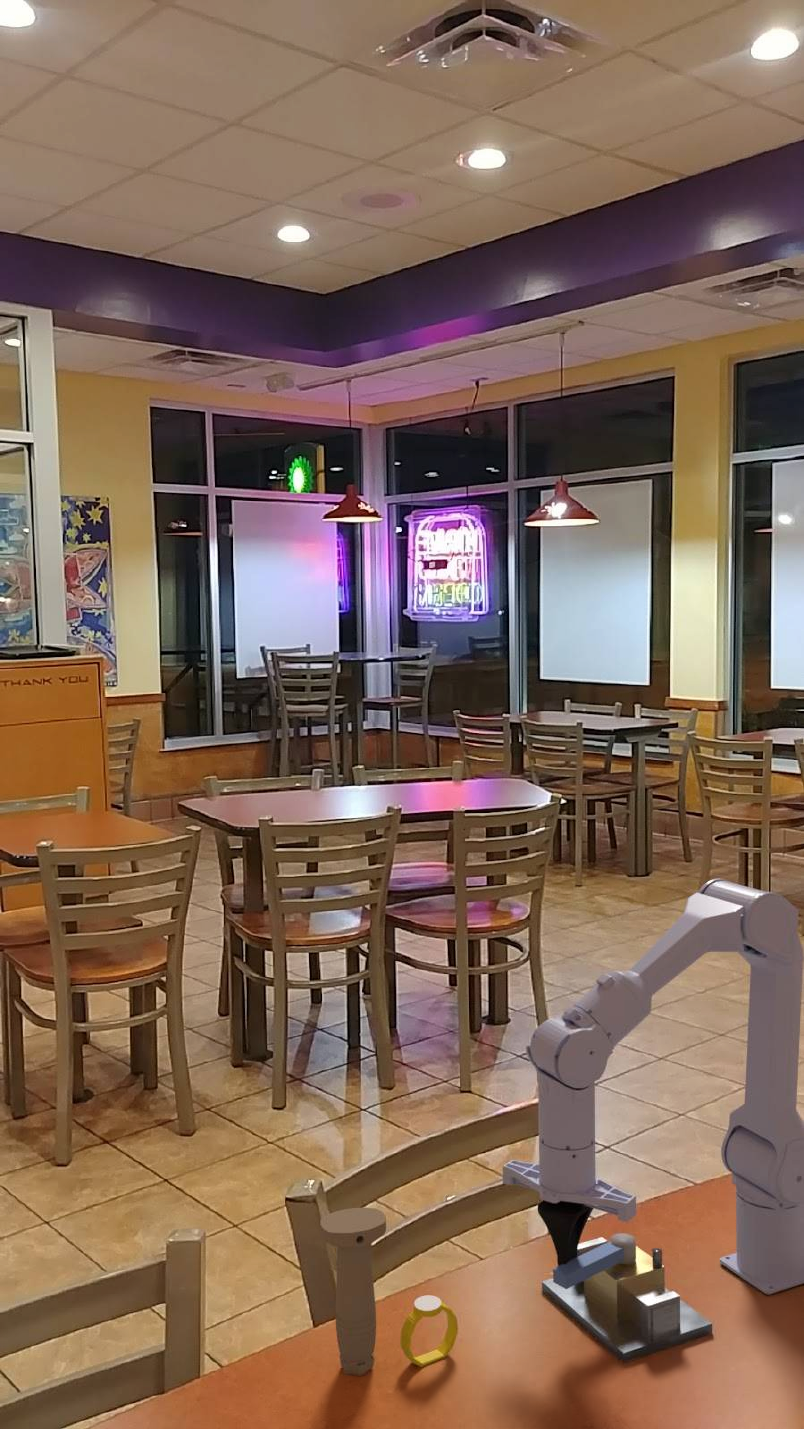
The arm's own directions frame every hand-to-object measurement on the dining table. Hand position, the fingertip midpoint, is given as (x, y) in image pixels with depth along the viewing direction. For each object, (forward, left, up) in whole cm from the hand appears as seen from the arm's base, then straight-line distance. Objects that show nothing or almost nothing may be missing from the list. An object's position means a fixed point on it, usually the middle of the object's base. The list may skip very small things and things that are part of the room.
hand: (568, 1267), depth 125 cm
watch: (+15, -2, -7) cm, 17 cm away
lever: (-3, +1, -1) cm, 3 cm away
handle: (+22, -4, -7) cm, 23 cm away
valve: (-7, 0, -7) cm, 10 cm away
